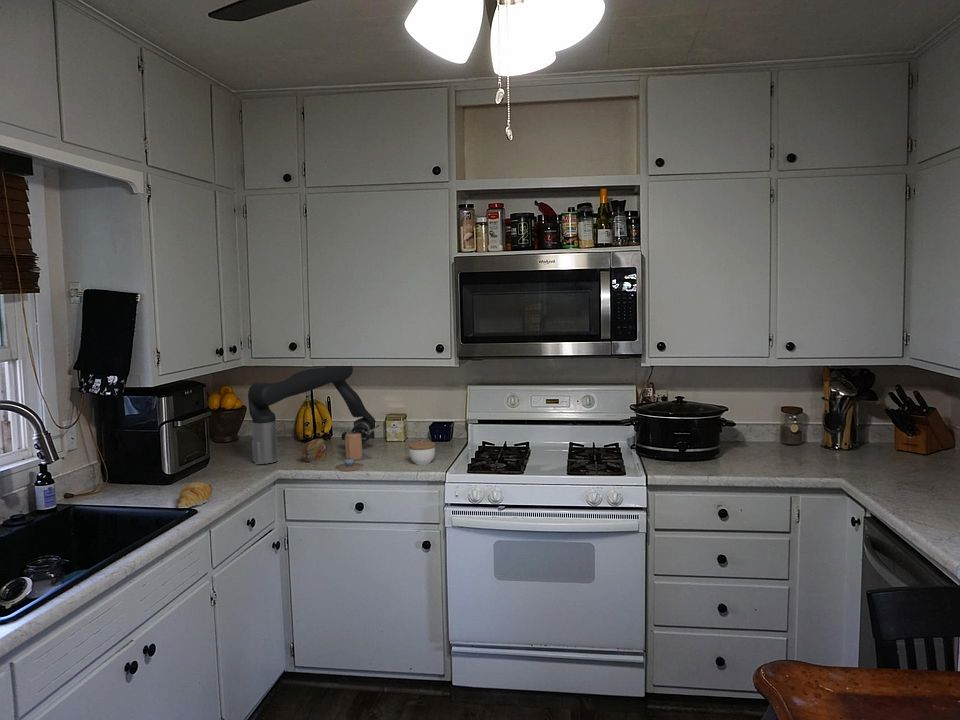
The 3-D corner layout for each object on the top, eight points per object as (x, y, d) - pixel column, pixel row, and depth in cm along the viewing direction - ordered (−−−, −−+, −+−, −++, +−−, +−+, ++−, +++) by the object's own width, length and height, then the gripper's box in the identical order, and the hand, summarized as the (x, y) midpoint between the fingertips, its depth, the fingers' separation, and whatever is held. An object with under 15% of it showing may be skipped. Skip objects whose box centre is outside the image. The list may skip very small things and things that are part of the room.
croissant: (189, 522, 222) (199, 501, 221) (161, 508, 221) (171, 487, 220) (217, 501, 243) (226, 481, 242) (191, 488, 242) (200, 468, 241)
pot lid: (343, 473, 265) (342, 464, 264) (330, 467, 273) (330, 459, 273) (368, 467, 271) (368, 459, 271) (355, 462, 280) (355, 454, 280)
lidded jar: (404, 464, 275) (403, 441, 274) (418, 458, 284) (417, 436, 284) (426, 467, 270) (426, 444, 269) (440, 461, 279) (440, 438, 279)
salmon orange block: (345, 459, 284) (344, 436, 283) (347, 456, 290) (346, 433, 289) (361, 459, 284) (360, 435, 283) (362, 455, 291) (361, 432, 290)
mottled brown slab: (308, 464, 279) (307, 444, 279) (301, 464, 280) (300, 443, 280) (327, 456, 294) (326, 436, 293) (321, 455, 295) (320, 436, 294)
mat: (348, 463, 279) (347, 462, 279) (334, 458, 288) (334, 457, 288) (374, 458, 286) (373, 457, 286) (360, 453, 296) (360, 453, 296)
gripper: (344, 423, 312) (339, 430, 296) (376, 422, 312) (372, 429, 296) (345, 440, 312) (340, 447, 296) (376, 438, 313) (373, 446, 297)
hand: (356, 438), depth 296 cm, fingers open, 8 cm apart
